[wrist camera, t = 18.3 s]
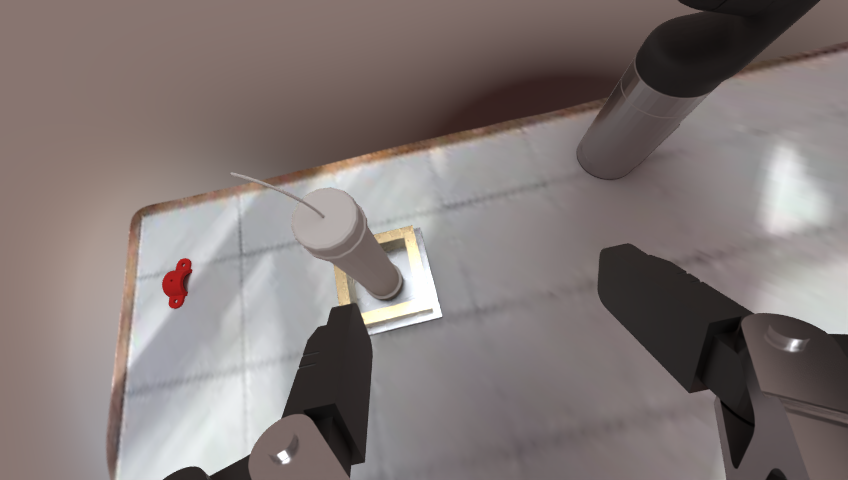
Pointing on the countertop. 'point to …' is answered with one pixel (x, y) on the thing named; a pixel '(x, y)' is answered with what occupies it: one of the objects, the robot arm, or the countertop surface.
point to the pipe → (342, 239)
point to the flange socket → (416, 291)
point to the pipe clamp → (176, 283)
